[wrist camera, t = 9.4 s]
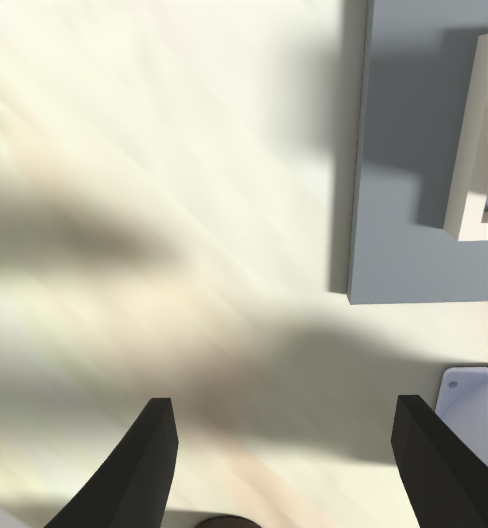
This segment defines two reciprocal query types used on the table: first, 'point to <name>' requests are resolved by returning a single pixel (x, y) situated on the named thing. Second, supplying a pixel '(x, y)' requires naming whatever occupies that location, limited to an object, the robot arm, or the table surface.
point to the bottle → (227, 523)
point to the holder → (422, 155)
